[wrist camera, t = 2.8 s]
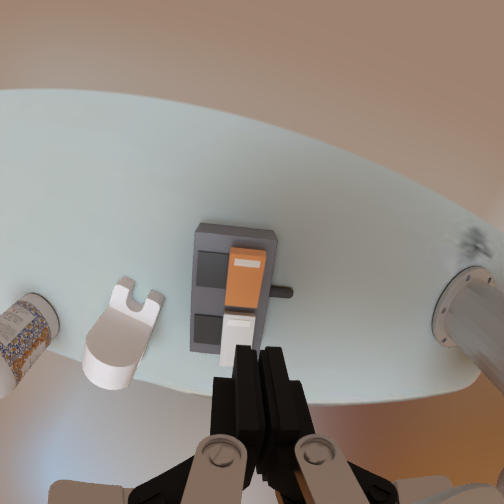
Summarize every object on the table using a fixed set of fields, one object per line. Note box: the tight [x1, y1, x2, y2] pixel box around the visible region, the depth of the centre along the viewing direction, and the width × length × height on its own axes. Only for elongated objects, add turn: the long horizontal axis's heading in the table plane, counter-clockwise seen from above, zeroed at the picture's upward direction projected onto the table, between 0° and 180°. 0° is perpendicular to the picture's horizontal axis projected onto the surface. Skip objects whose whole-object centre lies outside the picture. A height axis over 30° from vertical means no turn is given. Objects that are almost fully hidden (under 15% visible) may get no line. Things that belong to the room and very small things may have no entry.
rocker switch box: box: [190, 223, 293, 357], centre depth 28 cm, size 10×12×4 cm
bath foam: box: [0, 294, 59, 399], centre depth 20 cm, size 7×7×20 cm
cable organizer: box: [82, 277, 164, 390], centre depth 26 cm, size 5×10×10 cm, turn 154°
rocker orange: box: [225, 247, 266, 308], centre depth 24 cm, size 3×5×1 cm, turn 173°
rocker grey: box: [219, 311, 255, 367], centre depth 26 cm, size 3×5×1 cm, turn 173°
